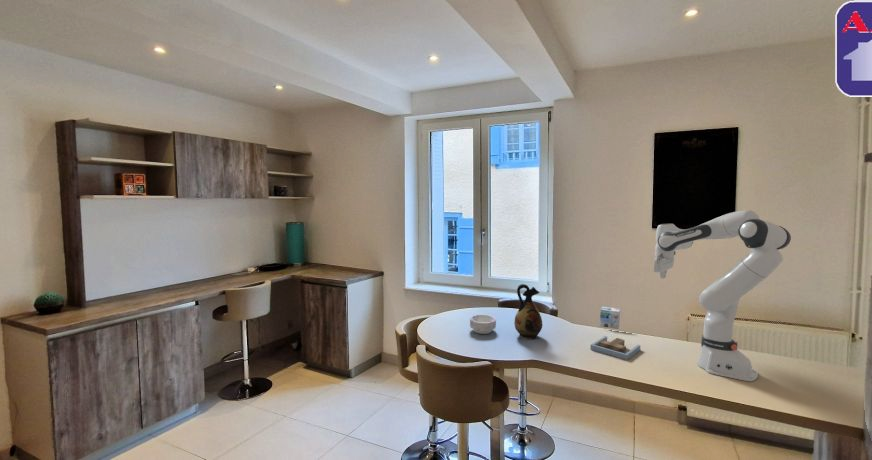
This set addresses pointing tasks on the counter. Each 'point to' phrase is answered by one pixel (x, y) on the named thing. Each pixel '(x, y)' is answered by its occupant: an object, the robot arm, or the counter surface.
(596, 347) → the docking bay
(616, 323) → the light bulb box
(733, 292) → the robot arm
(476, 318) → the white stone bowl
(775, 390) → the counter surface
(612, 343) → the walnut T block
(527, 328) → the ceramic jug
